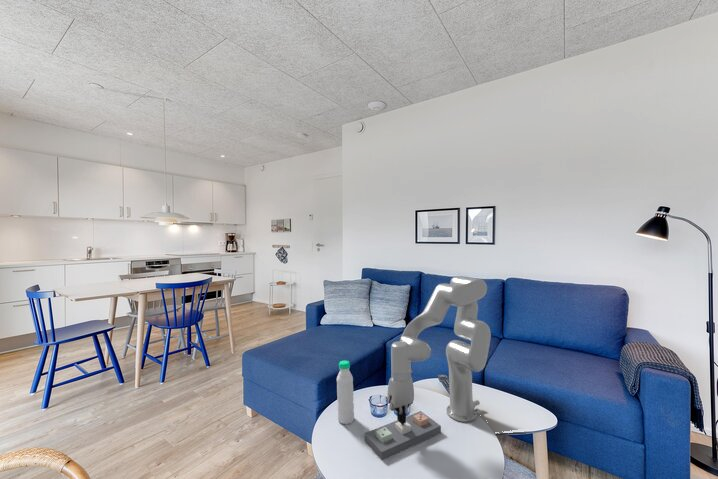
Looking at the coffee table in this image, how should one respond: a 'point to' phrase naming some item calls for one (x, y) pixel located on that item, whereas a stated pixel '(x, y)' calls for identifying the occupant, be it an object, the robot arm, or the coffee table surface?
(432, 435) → the key board
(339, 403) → the water bottle
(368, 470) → the coffee table surface
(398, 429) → the one pip key
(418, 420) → the three pip key
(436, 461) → the coffee table surface
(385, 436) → the two pip key
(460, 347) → the robot arm
